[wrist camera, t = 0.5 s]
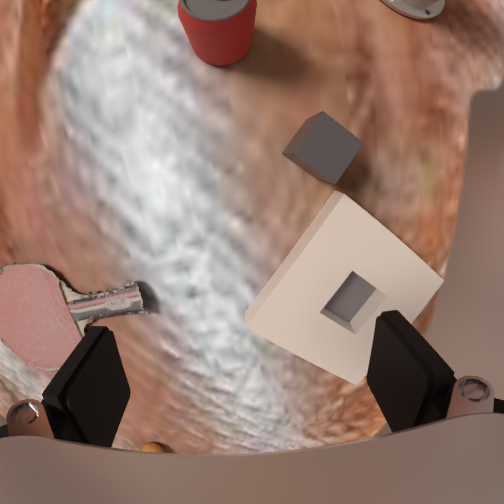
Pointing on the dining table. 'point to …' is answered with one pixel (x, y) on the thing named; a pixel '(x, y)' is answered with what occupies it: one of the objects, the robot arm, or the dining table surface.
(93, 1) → the dining table surface
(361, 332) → the socket
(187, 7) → the beer can
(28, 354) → the table tennis paddle
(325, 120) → the plug
